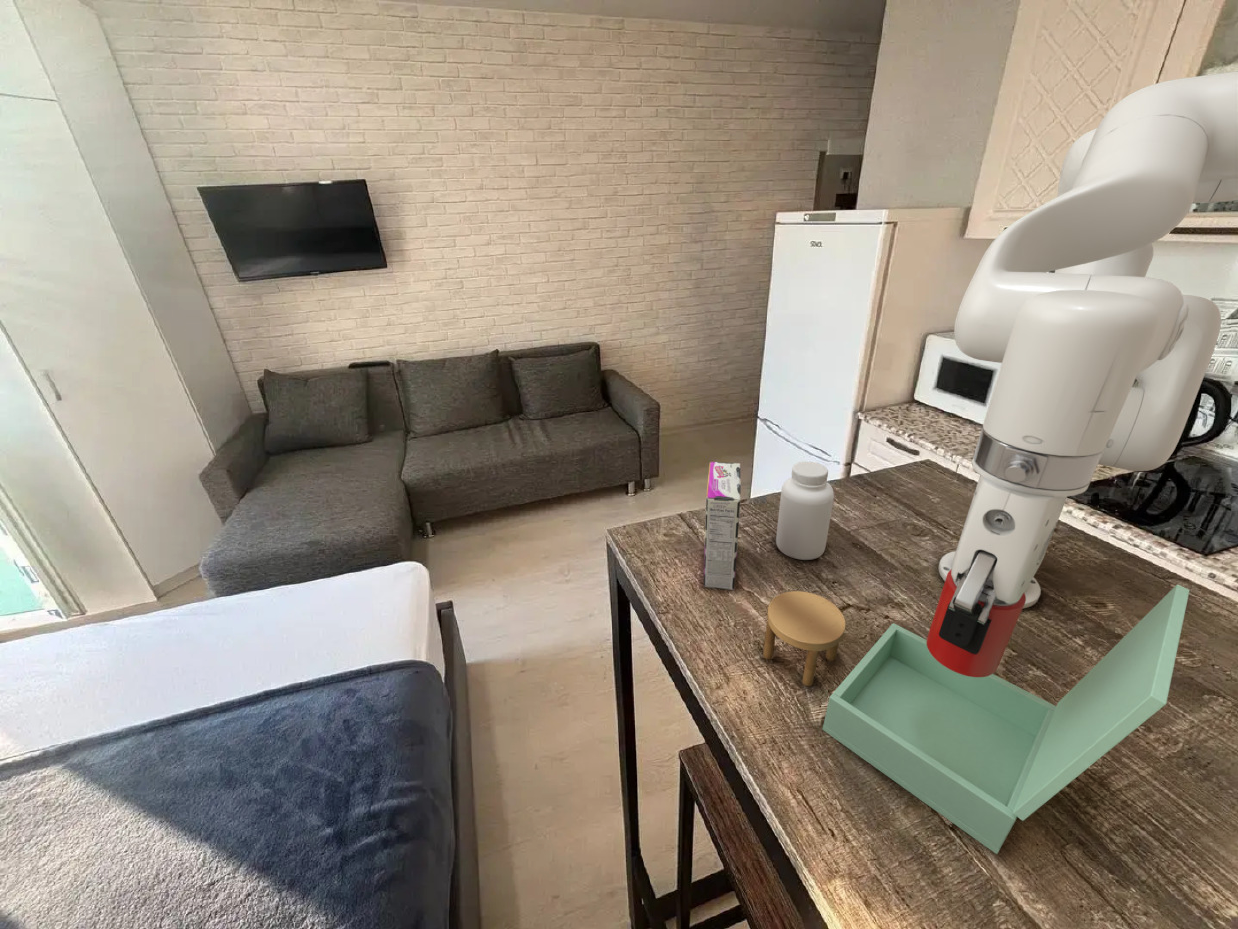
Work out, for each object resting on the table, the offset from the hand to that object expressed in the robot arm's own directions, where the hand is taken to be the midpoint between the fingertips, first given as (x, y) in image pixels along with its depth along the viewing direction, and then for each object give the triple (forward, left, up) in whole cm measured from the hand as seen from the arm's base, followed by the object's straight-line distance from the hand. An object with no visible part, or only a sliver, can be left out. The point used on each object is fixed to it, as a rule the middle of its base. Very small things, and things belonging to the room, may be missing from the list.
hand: (971, 623), depth 48 cm
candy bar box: (-6, -34, -16) cm, 38 cm away
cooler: (0, 0, -16) cm, 16 cm away
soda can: (0, 0, -4) cm, 4 cm away
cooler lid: (0, +9, -1) cm, 10 cm away
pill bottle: (-20, -28, -16) cm, 38 cm away
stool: (+1, -15, -16) cm, 22 cm away
